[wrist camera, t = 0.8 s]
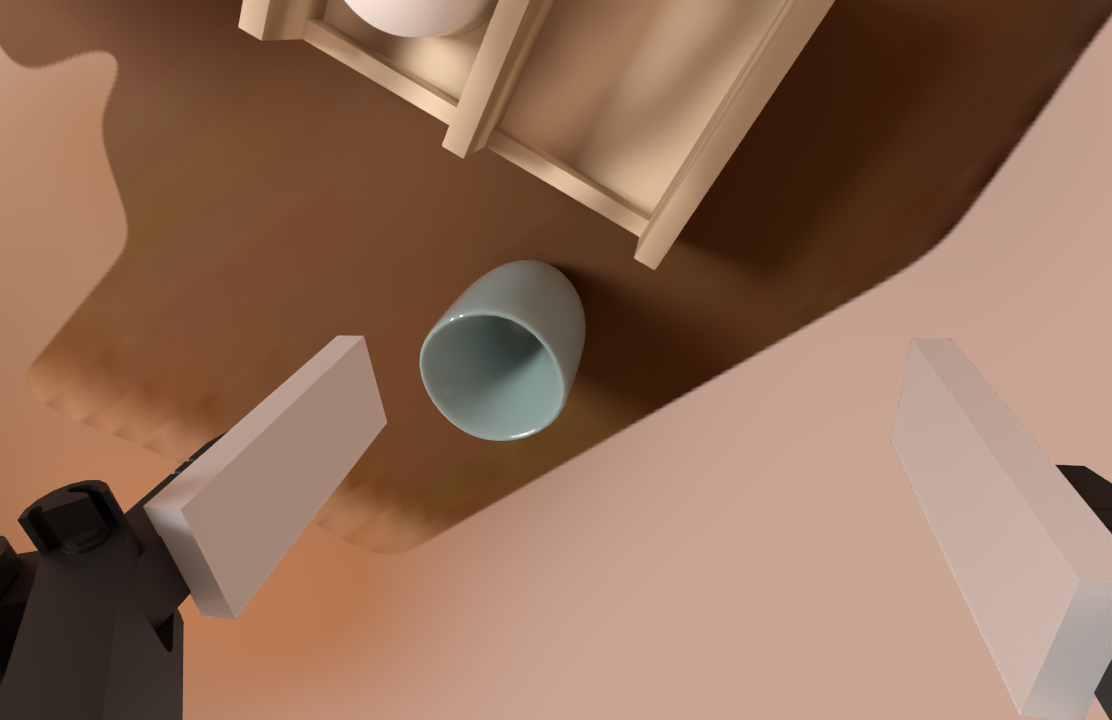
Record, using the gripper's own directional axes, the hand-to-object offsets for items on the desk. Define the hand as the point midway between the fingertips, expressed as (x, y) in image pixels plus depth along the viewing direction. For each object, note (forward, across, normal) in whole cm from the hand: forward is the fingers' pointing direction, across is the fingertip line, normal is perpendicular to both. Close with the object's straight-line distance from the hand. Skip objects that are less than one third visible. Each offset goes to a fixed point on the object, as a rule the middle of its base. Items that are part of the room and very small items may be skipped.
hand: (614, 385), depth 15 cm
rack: (+22, -6, +9) cm, 25 cm away
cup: (+22, -8, -7) cm, 25 cm away
